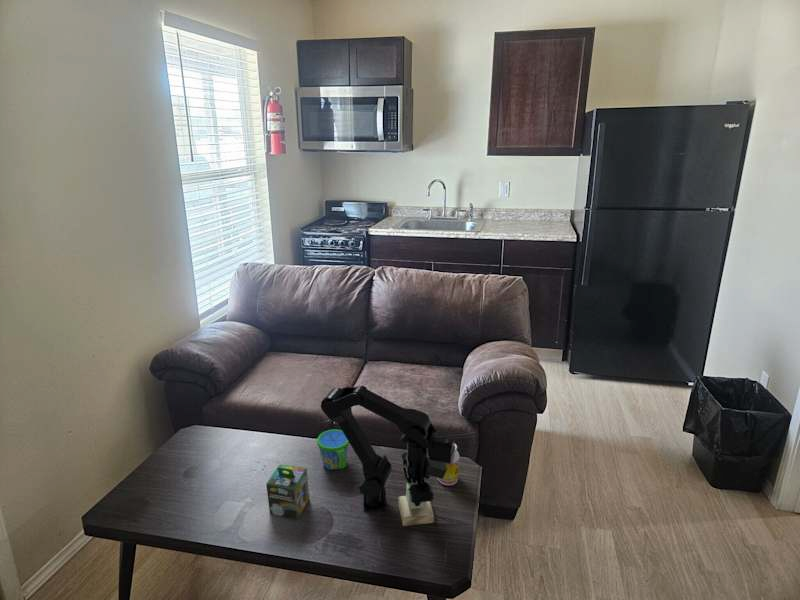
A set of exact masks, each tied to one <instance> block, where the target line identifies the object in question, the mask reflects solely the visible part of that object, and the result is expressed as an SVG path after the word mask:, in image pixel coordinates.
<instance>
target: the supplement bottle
mask: <svg viewBox="0 0 800 600" xmlns="http://www.w3.org/2000/svg"><path fill="white" fill-rule="evenodd" d="M453 443H454V446H455V453H454V459H453V462H452V464H447V463H445V464H446V467H447V471H446V473H445V475H444V477H443V479H440V478H438V477H437V480H438V481H439V483H440V484H442V485H444V486H454V485H455V484H456V483H458V481H459V471H460V469H459V468H460V452H458V445H457V444H456V443H455V442H453Z"/></svg>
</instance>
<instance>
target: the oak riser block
mask: <svg viewBox="0 0 800 600" xmlns="http://www.w3.org/2000/svg"><path fill="white" fill-rule="evenodd" d="M397 499H398V500H397V501H398V507H399V513H400V518H401V523H402V526H403V527H405V526H414V525H415V526H416V525H417V526H418V525H426V524H434V523H435V515H434V510H433V508H432V507H433V506H432V504H431V501H427V502H426V507H425V508H415V509H409V507H408V503H407V499H406V495H400V496H398V498H397Z"/></svg>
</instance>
